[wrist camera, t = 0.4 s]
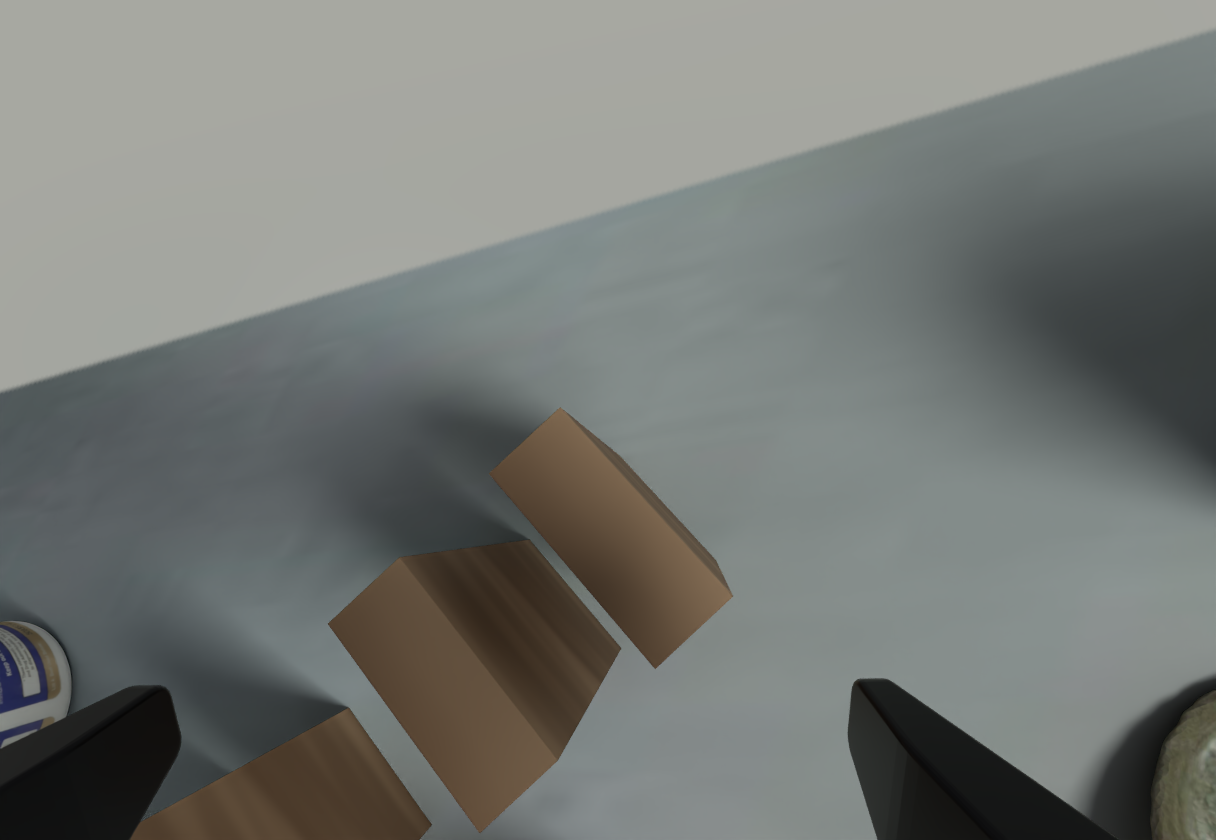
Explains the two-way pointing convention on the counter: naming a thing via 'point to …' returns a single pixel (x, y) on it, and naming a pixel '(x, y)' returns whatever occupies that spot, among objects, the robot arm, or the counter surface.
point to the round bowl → (1187, 777)
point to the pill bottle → (30, 680)
